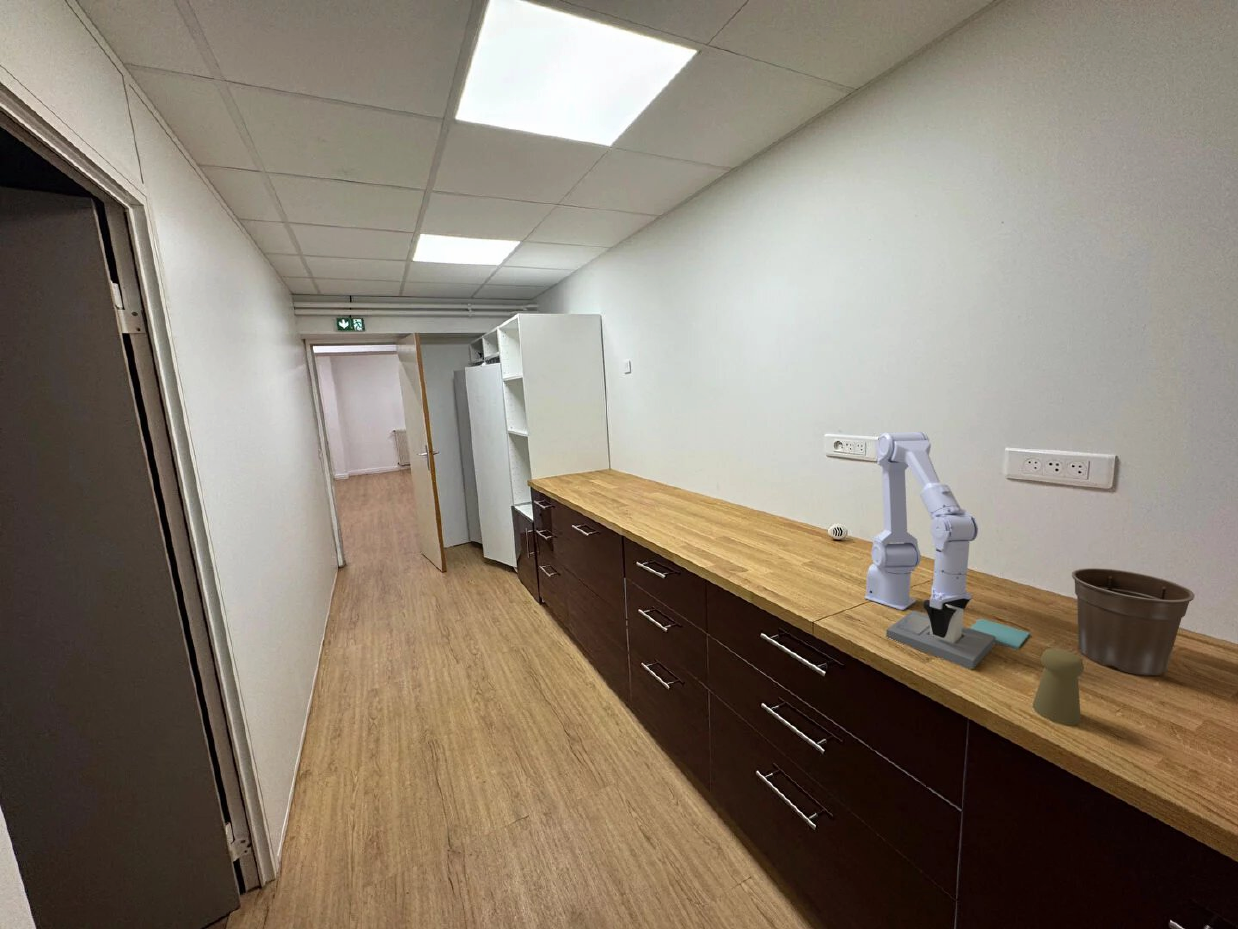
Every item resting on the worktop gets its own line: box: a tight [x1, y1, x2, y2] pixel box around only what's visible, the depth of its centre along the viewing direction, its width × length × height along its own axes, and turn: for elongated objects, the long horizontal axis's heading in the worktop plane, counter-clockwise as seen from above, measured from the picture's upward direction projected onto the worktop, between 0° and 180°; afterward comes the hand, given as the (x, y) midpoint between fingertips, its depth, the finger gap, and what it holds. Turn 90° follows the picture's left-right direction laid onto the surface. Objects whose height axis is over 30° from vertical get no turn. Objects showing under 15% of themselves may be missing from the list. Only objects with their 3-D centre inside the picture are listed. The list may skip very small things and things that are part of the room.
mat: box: [969, 618, 1030, 650], centre depth 105 cm, size 9×9×1 cm
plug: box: [929, 604, 964, 644], centre depth 101 cm, size 4×4×8 cm
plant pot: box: [1071, 567, 1195, 676], centre depth 93 cm, size 16×16×16 cm
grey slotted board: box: [885, 610, 996, 670], centre depth 102 cm, size 16×14×2 cm
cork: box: [1032, 648, 1085, 727], centre depth 79 cm, size 6×6×11 cm
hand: (945, 629), depth 101 cm, fingers open, 7 cm apart
